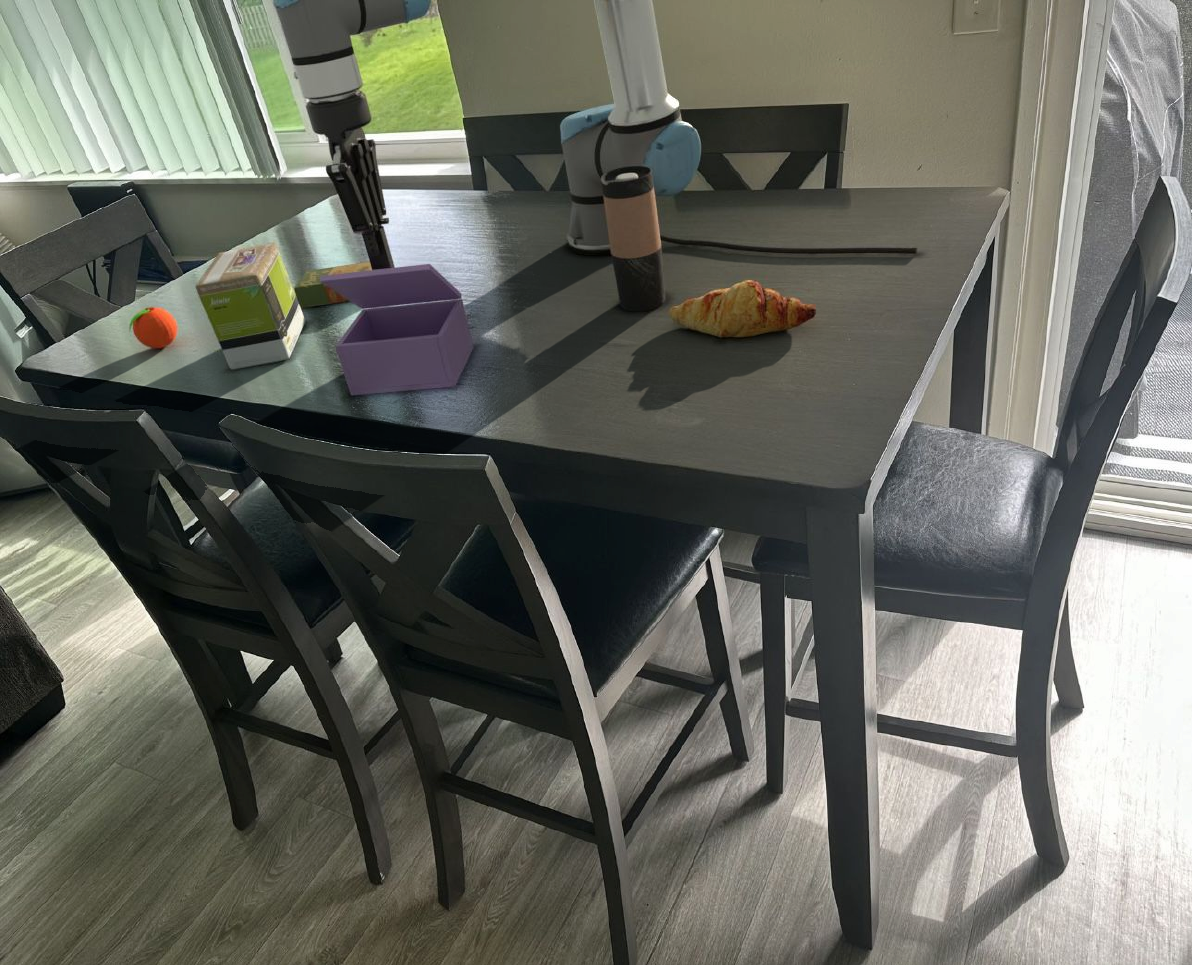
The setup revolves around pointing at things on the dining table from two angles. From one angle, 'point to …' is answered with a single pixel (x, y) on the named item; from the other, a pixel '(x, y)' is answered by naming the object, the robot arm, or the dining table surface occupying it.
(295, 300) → the tea box
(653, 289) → the travel mug
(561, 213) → the dining table surface
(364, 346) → the file box
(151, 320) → the clementine
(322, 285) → the carton
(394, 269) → the lid
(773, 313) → the croissant
